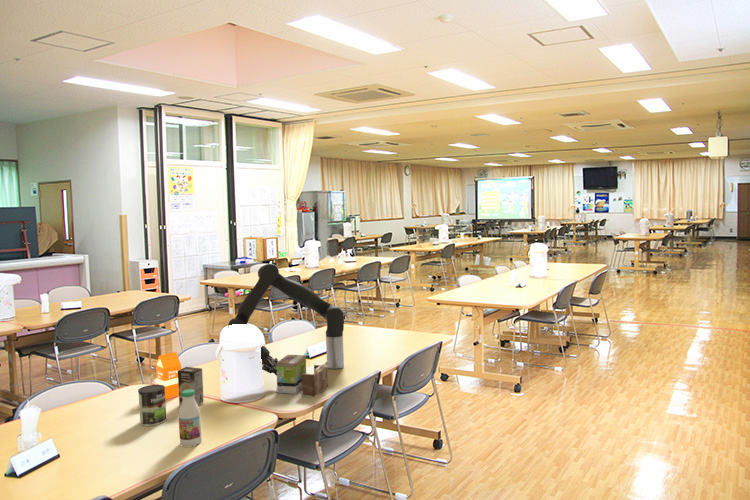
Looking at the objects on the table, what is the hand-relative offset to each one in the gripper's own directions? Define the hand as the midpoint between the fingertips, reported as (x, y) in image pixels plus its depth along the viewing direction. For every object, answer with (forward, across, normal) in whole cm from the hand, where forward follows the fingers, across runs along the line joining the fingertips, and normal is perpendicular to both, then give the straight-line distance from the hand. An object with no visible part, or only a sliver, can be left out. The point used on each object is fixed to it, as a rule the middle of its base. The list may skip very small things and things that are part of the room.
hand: (281, 376), depth 263 cm
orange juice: (-30, -22, +37) cm, 53 cm away
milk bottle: (+2, -65, +6) cm, 65 cm away
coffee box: (-17, -30, +25) cm, 42 cm away
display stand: (+16, 0, -9) cm, 18 cm away
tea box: (+8, 0, 0) cm, 8 cm away
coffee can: (-19, -51, +27) cm, 61 cm away
